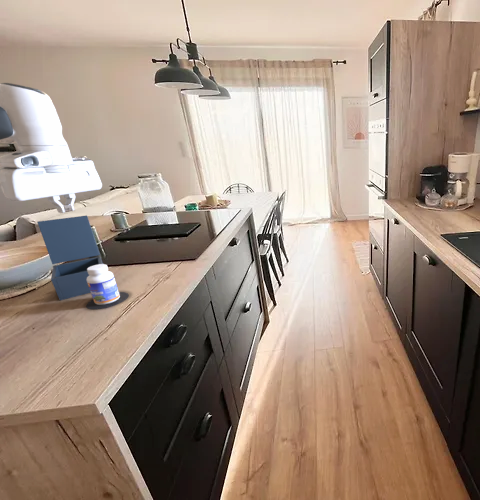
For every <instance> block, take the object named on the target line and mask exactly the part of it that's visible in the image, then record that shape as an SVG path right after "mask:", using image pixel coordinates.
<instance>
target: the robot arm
mask: <svg viewBox="0 0 480 500" xmlns="http://www.w3.org/2000/svg"><path fill="white" fill-rule="evenodd" d="M0 144H1V145H2V144H3V145H10V144H11V145H12V144H16V145H17V148H18V150H16V151H13V152H10V153H7V154H4V155H1V156H0V189H1V192H2V194H3V195H4V198H6V199H8V200H9V201H13V202H24V201H30V200H31V201H32V200H37V199H39V200H40V199H45V198H47V201H48V202H49V203H51V204H52V205H53V206H54V207H55V208H56V211H57V212H58V213H60V214H64V213H69V212H75V210H76V208H75V205H74V204H75V201H76V198H77V197H76V196H77V195H76V194H78V193H84V192H85V193H86V192H92V191H97V190H101V189H102V188H103V183H102V180H101V177H100V175H99V173H98V171H97V169H96V166H95V163H94V161H93V160H92V159H90V158H89V157H87V156H84V155H83V156H81V155H80V156H72V154H71V151H70V148H69V144H68V142H67V141H66V139H65V138H64V136H63V126H62V123H61V120H60V116H59V113H58V112H57V109H56V107H55V105H54V103H53V101H52V99H51V97H50V95H48V94H47V93H46V92H44V91H43V90H41V89H38V88H34V87H30V86H25V85H21V84H16V83H12V82H2V83H0ZM60 196H63V198H64V199H65V204H63V203H62V202H61V201H60V200H61V198H60Z"/></svg>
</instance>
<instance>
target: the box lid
mask: <svg viewBox="0 0 480 500" xmlns="http://www.w3.org/2000/svg"><path fill="white" fill-rule="evenodd" d="M36 222H37V226H38V228H39V231H40V233H41V237H42V239H43V242H44V245H45V248H46V251H47V253H48V257H49V259H50V262H51V264H52V265H58V264H60V263H61V264H63V263H68V262H73V261H78V260H83V259H88V258H94V257H99V256H101V253H100V250H99V247H98V244H97V241H96V238H95V235H94V232H93V228H92V226H91V222H90V219H89V217H88V215H87V214H86V215H80V216H70V217H62V218H55V219H49V220H48V219H47V220H39V221H36Z"/></svg>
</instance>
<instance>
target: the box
mask: <svg viewBox="0 0 480 500" xmlns="http://www.w3.org/2000/svg"><path fill="white" fill-rule="evenodd" d="M98 264H104V263H103V260H102V256H94V257H89V258H84V259H79V260H74V261H69V262H64V263H61V264H60V263H59V264H54V265H53V266H52V270H51V278H50V280H51V283H52V285H53V288H54V290H55V292H56V295H57V297H58V300H59V301H64V300H68V299H71V298H76V297H79V296H83V295H87V294H88V295H89V294H91V291H90V289H89V286H88V283H87V277H88V276H89V274H88V271H87V268H89V267H91V266H94V265H98Z"/></svg>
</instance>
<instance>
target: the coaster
mask: <svg viewBox="0 0 480 500" xmlns="http://www.w3.org/2000/svg"><path fill="white" fill-rule="evenodd" d="M119 294H120V298H119V299H118V300H116V301H114V302H112V303H109V304H104V305H98V304H95V302H94V300H93V299H90V300H89V301H88V302H87V303H86V305H85V308H86V309H87V310H91V311H92V310H93V311H94V310H95V311H96V310H103V309H109V308H112V307H115V306H117V305H119V304H121V303H123V302H125V301H126V300H127V299H128V298H129V297H130V294H129V293H128V292H126V291H119Z"/></svg>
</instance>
